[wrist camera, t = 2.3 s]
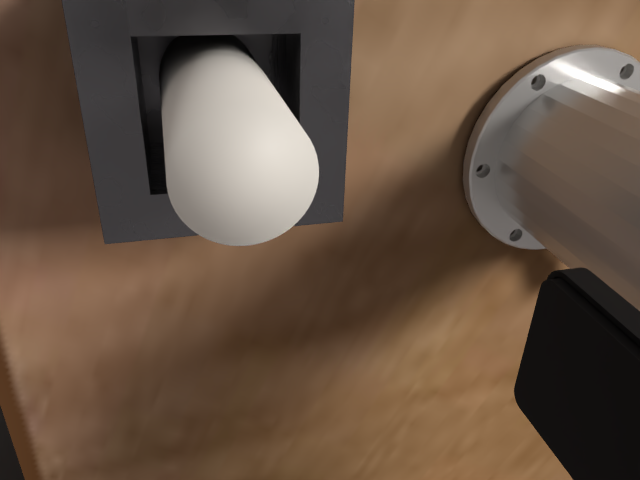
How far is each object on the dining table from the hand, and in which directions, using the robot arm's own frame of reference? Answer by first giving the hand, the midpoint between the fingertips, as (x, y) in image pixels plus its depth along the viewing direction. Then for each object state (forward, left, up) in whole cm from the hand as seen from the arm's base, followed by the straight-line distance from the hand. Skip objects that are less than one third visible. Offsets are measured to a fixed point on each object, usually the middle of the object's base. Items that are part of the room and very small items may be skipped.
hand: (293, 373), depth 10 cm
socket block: (0, 0, -22) cm, 22 cm away
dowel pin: (0, 0, -21) cm, 21 cm away
